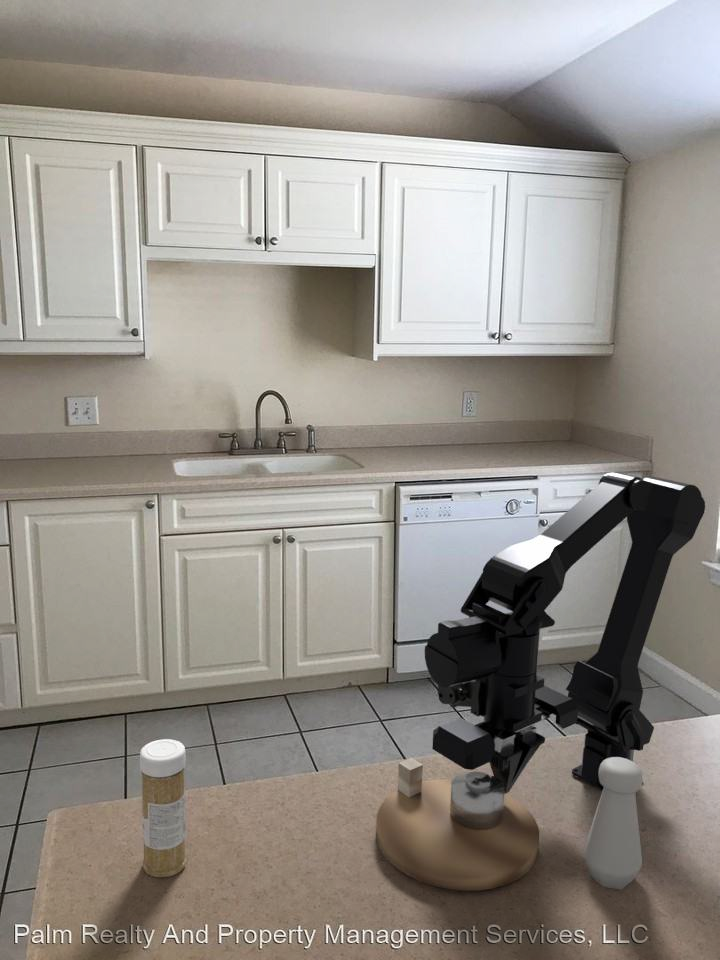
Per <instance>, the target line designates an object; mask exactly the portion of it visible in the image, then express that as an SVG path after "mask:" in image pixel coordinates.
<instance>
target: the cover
mask: <svg viewBox="0 0 720 960" xmlns="http://www.w3.org/2000/svg"><path fill="white" fill-rule="evenodd" d="M451 780H452V782H451V797H450V816H451V818H452V819H453V820H454V821H455V822H456V823H457V824H459V825H461V826H463V827H465V828H469V829H473V830H489V829H493V828H495V827H497V826H498V825H500V824H501V822H502V820H503V810H504V795H505V787H504V785H503V783H502V782H501V781H500V780H499V779H497V778H496V777H494V775H491V774H489V773H486V772H482V771H479V770H477V771H475V770H474V771H468V772H461V773H459V774H457V775H455V776H454V777H453V778H452V779H451Z"/></svg>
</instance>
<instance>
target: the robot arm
mask: <svg viewBox="0 0 720 960" xmlns="http://www.w3.org/2000/svg"><path fill="white" fill-rule="evenodd" d="M597 484H598V485H596V486H595V487H594V488H593V489H591V490H590V491H589V492H587V494H586V495H585V496H584V497H582V498H581V499H580V500H579V501H578V502H577V503H575V504H574V505H573V506H571V508H569V510H567V511H566V512H565V513H563V515H561V516H560V517H559V518H558V519H557V520H555V521H554V522H553V523H552V524H551V525H550V526H549V527H547V528H546V529H545V530H544V531H542V533H540V534H539V535H538V536H536V537H534V538H532V539H530V540H525V541H522V542H519V543H514V544H512V545H509V546H508V547H507V548H505V549H503V550H502V551H500V552H498V553H496V554H495V555H493V556H492V557H491V558H490V559H489V560H488V561H487V562H486V563H485V565H484V566H483V568H482V572H481V574H480V576H479V578H478V579H477V581H476V583H475V585H474V586H473V587H472V590H471V591H470V593H469V595H468V596H467V597H466V600H465V601H464V603H463V604H462V606H461V608H460V613H461V614H463V615H465V616H467V617H466V618H460V619H457V620H443V621H440V622H439V623H438V625H437V632H435V633H433V634H432V635H430V637H429V638H428V641H427V642H426V645H425V646H424V660H425V666H426V668H427V671H428V674H429V675H430V677H431V678H432V680H433V682H435V683H436V685H437V691H436V692H437V696H438V700H439V702H440V704H442V705H449V707H450V708H454V709H455V708H457V707H466V708H470V714H472V715H474V716H476V717H483V721H481V722H479V723H476V724H473V723H471V722H470V721H468V720H466V719H464V718H463V717H459V718H456V719H454V720H452V721H449V722H446V723H444V724H441V725H438V727H435V728H434V729H433V731H432V732H433V733H432V750H433V751H434V752H436V753H438V754H440V755H441V756H443V757H445V758H446V759H448V760H450V761H451V762H453V763H454V764H456V765H458V766H460V767H461V768H463V769H465V770H469V771H470V770H471V771H472V770H473V771H474V770H475V769H477V768H480V767H482V766H484V765H486V764H489V765H490V766H489V767H490V769H491V771H492V774H493V775H492V776H494V777H496V778H497V779H499V780H500V781H501V782H502V783H503V785H504V787H505V794H508V793H510V792H511V789H512V788H513V786H514V785H515V783H516V782H517V780H518V778H519V777H520V776H521V774H522V772H523V771H524V769H525V768H526V767H527V765H528V764H529V762H530V761H531V759H532V758H533V756H534V754H535V753H536V752H537V751H538V749H539V748H540V747H541V745H542V744H545V743H546V737H545V736H543V735H542V734H540V733H538V732H537V727H536V724H538V723H540V722H543V721H545V720H547V719H550V717H551V715H554V716H555V724H556V725H557V727H558V728H560V729H561V730H562V729H563V730H564V729H567V728H569V727H571V726H573V725H578V726H580V727H582V728H584V729H586V730H587V731H586V732H587V733H585V735H584V746H583V749H582V758H581V759H582V760H581V764H580V765H578V766H575V767H574V768H572V769H571V774H572V775H573V776H575V777H577V778H578V779H580V780H582V781H584V782H586V783H588V784H590V785H592V786H594V787H595V788H597V789H599V790H600V791H603V788H604V787H603V786H602V785H601V784H600V781H599V767H600V764H601V763H602V762H603V760H605V759H607V758H611V757H621V758H625V759H628V760H630V761H633V762H634V752H635V751H638V752H639V751H643V750H644V746H645V745H648V744H650V742H651V738H652V736H653V732H654V729H655V726H654V725H653V724H652V723H651V721H649V719H648V718H647V716H645V714H644V713H643V712H642V711H641V710H640V709H641V704H642V699H643V695H644V689H643V685H642V682H641V681H642V680H641V676H640V672H639V668H638V666H639V662H640V658H641V655H642V653H643V649H644V647H645V643H646V640H647V636H648V633H649V630H650V627H651V624H652V621H653V618H654V615H655V612H656V608H657V606H658V602H659V600H660V596H661V593H662V591H663V587H664V583H665V581H666V577H667V574H668V572H669V569H670V565H671V562H672V559H673V557H674V555H675V554H676V553H678V552H679V551H680V550H681V549H682V548H684V546H685V545H687V544H688V543H689V542H690V541H691V540H693V538H694V536H695V534H696V531H697V529H698V526H699V525H700V523H701V520H702V518H703V517H704V514H705V510H706V501H705V499H704V497H702V492H701V490H700V489H699V487H697V486H696V485H695V484H690V483H686V482H682V481H681V482H680V481H676V480H672V479H667V478H661V477H658V476H652V475H650V476H647V477H645V478H642V477H639V476H636V475H632V474H627V473H623V472H617V471H612V472H607V473H605V474H603V476H602V477H601V478H600V479H599V481H598V483H597ZM625 519H626V523H627V525H628V531H629V534H630V539H631V546H630V549H629V553H628V555H627V559H626V562H625V565H624V568H623V571H622V573H621V576H620V580H619V582H618V586H617V589H616V592H615V595H614V599H613V602H612V605H611V608H610V612H609V615H608V617H607V620H606V624H605V628H604V631H603V633H602V636H601V639H600V642H599V645H598V649H597V651H596V652H595V654H593V655H592V656H591V657H589V659H587V660H586V661H584V662H583V661H582V660H578V661H577V662H576V663H575V665H574V666H573V671H572V675H571V678H570V681H569V683H568V684H567V686H566V688H565V690H566V691H567V695H565V694H564V693H561V692H558V691H557V690H555V689H552V688H551V687H548V686H546V685H545V678H544V677H542V676H540V675H538V661H539V650H540V649H539V647H540V631H541V629H547V628H549V627H553V626H555V624H556V621H555V619H553V618H552V617H551V616H550V615H549V614H548V613H547V612H546V609H548V606H550V605H551V603H552V602H553V601H554V599H556V598H557V596H558V595H559V594H560V593H561V591H562V590H563V587H564V583H565V579H566V574H567V572H568V571H569V570H570V569H571V567H573V566H574V565H575V564H576V563H577V562H578V561H579V560H580V559H581V558H583V556H585V555H586V554H587V553H588V552H589V551H590V550H591V549H593V548H594V546H596V545H597V544H598V543H599V542H600V541H601V540H602V539H604V538H605V537H606V536H607V535H608V534H610V532H611V531H613V530H614V529H615V528H616V527H617V526H618V525H619V524H621V522H623V521H624V520H625ZM489 602H491V603H494V604H496V605H497V606H501V607H502V608H504V609H507V610H508V611H510V612H506V613H505V612H502V611H501V610H499V609H496V608H494V607H493V606H490V605H488V603H489Z"/></svg>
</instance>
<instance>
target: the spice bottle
mask: <svg viewBox="0 0 720 960" xmlns="http://www.w3.org/2000/svg"><path fill="white" fill-rule="evenodd" d="M140 749H141V750H140V752H139V768H140V771H141V781H142V783H141V786H142V787H141V791H142V793H141V796H142V797H141V798H142V801H141V802H142V803H141V804H142V805H141V811H142V812H141V813H142V814H141V818H142V820H141V821H142V824H141V825H142V842H143V861H142V866H143V867H142V868H143V870H144V872H146V874H147V875H149V876H152V877H154V878H155V877H156V878H168V877H169V878H170V877H172V876H174V875H176V874H178V873H180V872H181V871H182V870H183V869H184V868H185V866H186V864H187V856H186V826H187V825H186V789H185V767H186V762H187V761H186V759H187V757H186V747H185V745H184V744H183V743H182V742H181V741H179V740H175V739H171V738H166V739H165V738H164V739H158V740H154V741H153V740H152V741H151V742H148V743H147V744H145V745H144V746H142V748H140Z"/></svg>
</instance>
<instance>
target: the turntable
mask: <svg viewBox="0 0 720 960" xmlns="http://www.w3.org/2000/svg"><path fill="white" fill-rule="evenodd" d="M423 766H424V765H423V764H422V763H421V762H419V761H418V760H416V759H414V758H413V757H409V758H407V759H405V760H403V761H400V762H398V776H397V778H398V779H397V790H395V791H394V792H392V793H391V794H390V795H388V797H387V798H385V799H384V801H383V802H382V803H381V805H380V806H379V808H378V810H377V814H376V821H375V823H376V824H375V825H376V826H375V828H376V829H375V837H376V842H377V845H378V847H379V849H380V851H381V853H382V854H383V855H384V857H385V858H386V859H387V860H388V862H390V864H392V865H393V866H394V867H395V868H397V869H398V870H399V871H401V872H402V873H403V874H405V875H407V876H409V877H411V878H413V879H415V880H417V881H419V882H421V883H425V884H428V885H431V886H433V887H439V888H443V889H448V890H454V891H483V890H490V889H491V890H492V889H495V888H496V889H497V888H501V887H503V886H506V885H509V884H511V883H513V882H515V881H518V880H519V879H521V878H522V877H524V876H525V875H526V874H527V873H528V872H529V871H530V870H531V869H532V867H533V866H534V865H535V863H536V861H537V858H538V855H539V850H540V849H539V848H540V829H539V826H538V823H537V820H536V818H535V817H534V816H533V814H532V812H531V811H530V810H528V808H526V807H525V806H524V805H523V804H522V803H521V802H520V801H518V800H517V799H516V798H514V797H513V796H511V795H509V794H508V793H506V794H505V795H504V810H503V820H502V822H501V824H500V825H498V826H497V827H495V828H493V829H489V830H473V829H469V828H465V827H463V826H461V825H459V824H457V823H456V822H455V821H454V820H453V819H452V818H451V816H450V797H451V782H452V780H453V779H448V778H447V779H446V778H445V779H430V780H423V770H424V768H423Z"/></svg>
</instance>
